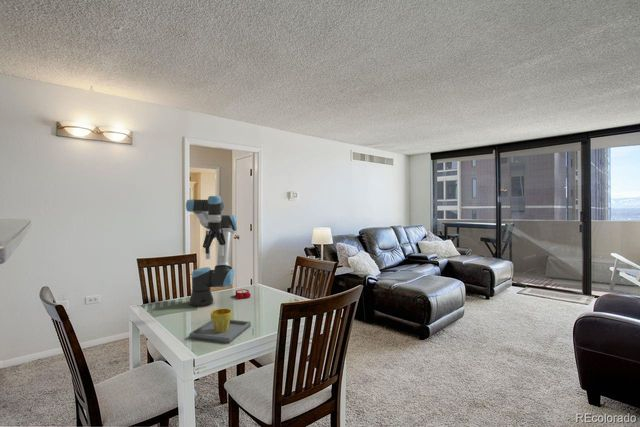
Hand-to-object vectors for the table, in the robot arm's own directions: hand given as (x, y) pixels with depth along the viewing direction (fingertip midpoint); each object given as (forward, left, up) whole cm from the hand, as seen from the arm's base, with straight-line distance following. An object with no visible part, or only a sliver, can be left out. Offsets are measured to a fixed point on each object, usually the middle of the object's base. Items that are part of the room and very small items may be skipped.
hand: (214, 257), depth 189 cm
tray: (+22, +18, -35) cm, 45 cm away
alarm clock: (-38, -2, -35) cm, 52 cm away
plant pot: (+22, +18, -34) cm, 44 cm away
